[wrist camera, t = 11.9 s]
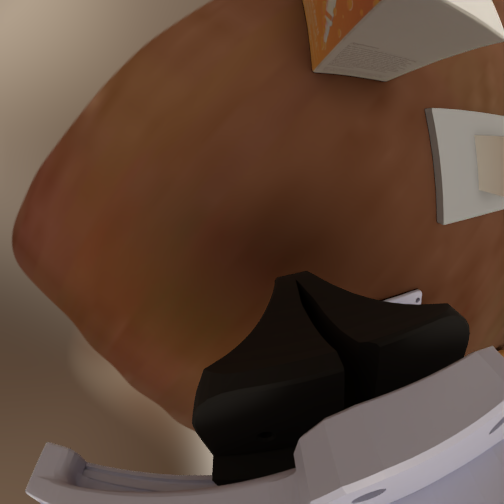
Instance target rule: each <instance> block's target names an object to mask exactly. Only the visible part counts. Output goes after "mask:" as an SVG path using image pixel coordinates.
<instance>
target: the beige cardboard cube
mask: <svg viewBox="0 0 504 504" xmlns="http://www.w3.org/2000/svg"><path fill="white" fill-rule="evenodd" d="M474 137H475V145H476V154H477V165H478V180H479V190H481V191H485V192H488V193H492V194H496V195H499V196H503V197H504V136H486V135H474Z"/></svg>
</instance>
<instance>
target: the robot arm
mask: <svg viewBox="0 0 504 504" xmlns="http://www.w3.org/2000/svg"><path fill="white" fill-rule="evenodd" d="M417 298H418V299H417ZM416 299H417V300H416ZM421 299H422V292H421V291H420V290H419V289H417V290H414V291H411V292H408V293H405V294H402V295H399V296H396V297H393V298H390V299H387V300H383V301H380V300H375V299H371V298H367V297H364V296H360V295H357V294H354V293H351V292H349V291H346V290H344V289H341V288H339V287H337V286H334V285H332V284H330V283H328V282H326V281H324V280H323V279H321V278H319V277H317V276H315V275H313V274H312V273H310V272H308V271H304V272H300V273H295V274H291V275H286V276H282V277H277V278H276V280H275V286H274V290H273V294H272V297H271V299H270V302H269V304H268V306H267V308H266V310H265V312H264V314H263V316H262V318H261V319H260V321H259V322H258V324H257V325H256V327H255V328H254V329H253V331H252V332H251V333H250V334H249V335H248V336H247V337H246V339H245V340H244V341H242V342H241V343H240V344H239V345H238V346H237V347H236V348H235V349H233V350H232V351H231V352H230V353H228V354H227V355H226V356H224V357H223V358H221V359H220V360H218V361H216V362H215V363H213V364H212V365H210V366H208V367H207V368H205V369H204V370H203V373H202V376H201V379H200V382H199V385H198V388H197V391H196V396H195V402H194V409H193V418H192V424H193V427H194V429H195V431H196V433H197V434H198V436H199V437H200V438H201V440H202V441H203V442H204V444H205V445H206V446H207V448H208V449H209V450H210V452H211V453H212V454H213V472H212V475H207V476H206V475H204V476H197V475H193V476H192V475H168V474H155V473H146V472H137V471H130V470H123V469H117V468H112V467H107V466H102V465H97V464H92V463H88V462H86V461H85V460H84V459H83V458H82V457H81V456H80V455H79V454H78V453H76V452H75V451H73V450H72V449H69V448H67V447H64V446H61V445H57V444H54V443H51V442H47V443H46V445H45V447H44V449H43V451H42V453H41V455H40V458H39V460H38V462H37V464H36V466H35V469H34V471H33V473H32V476H31V478H30V480H29V483H28V485H27V488H26V490H25V491H26V493H27V494H28V495H29V496H31V497H32V498H34V499H35V500H37V501H38V502H40V503H41V504H504V357H503V356H502V355H501V354H500V353H499V352H498V351H497V350H496V349H495V348H494V347H493V346H491V347H487V348H484V349H481V350H478V351H475V352H472V353H470V354H469V355H467V356H465V357H464V355H465V352H466V348H467V345H468V340H469V334H470V332H469V325H468V323H467V321H466V319H465V318H464V317H463V316H461V315H460V314H459V313H458V312H457V311H456V310H455V309H453V308H452V307H451V306H450V305H449V304H447V303H445V304H423V305H421Z"/></svg>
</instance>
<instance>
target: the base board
mask: <svg viewBox="0 0 504 504" xmlns="http://www.w3.org/2000/svg"><path fill="white" fill-rule="evenodd" d="M425 113H426V118H427V123H428V129H429V135H430V141H431V148H432V155H433V164H434V173H435V185H436V202H437V222H438V223H440V224H443V225H445V224H449V223H453V222H457V221H461V220H465V219H468V218H472V217H476V216H480V215H484V214H487V213H491V212H495V211H498V210H502V209H504V197H503V196H499V195H496V194H492V193H488V192H485V191H481V190H479V180H478V165H477V154H476V145H475V137H474V135H486V136H504V116H500V115H494V114H488V113H481V112H473V111H465V110H454V109H441V108H428V109H425Z"/></svg>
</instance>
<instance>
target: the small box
mask: <svg viewBox="0 0 504 504" xmlns="http://www.w3.org/2000/svg"><path fill="white" fill-rule="evenodd" d="M303 5H304V10H305V15H306V22H307V28H308V35H309V43H310V51H311V62H312V71H313V72H316V73H330V74H339V75H348V76H355V77H361V78H368V79H374V80H379V81H385V82H386V81H389V80H391V79H393V78H396V77H398V76H401V75H403V74H406V73H408V72H411V71H413V70H415V69H418V68H421V67H423V66H426V65H428V64H431V63H433V62H436V61H439V60H442V59H445V58H448V57H451V56H454V55H457V54H460V53H463V52H466V51H469V50H473V49H476V48H480V47H483V46H487V45H491V44H495V43H500V42H504V29H503V26H502V24H501V21H500V18H499V16H498V13H497V11H496V9H495V6H494V4H493V2H492V0H303Z"/></svg>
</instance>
